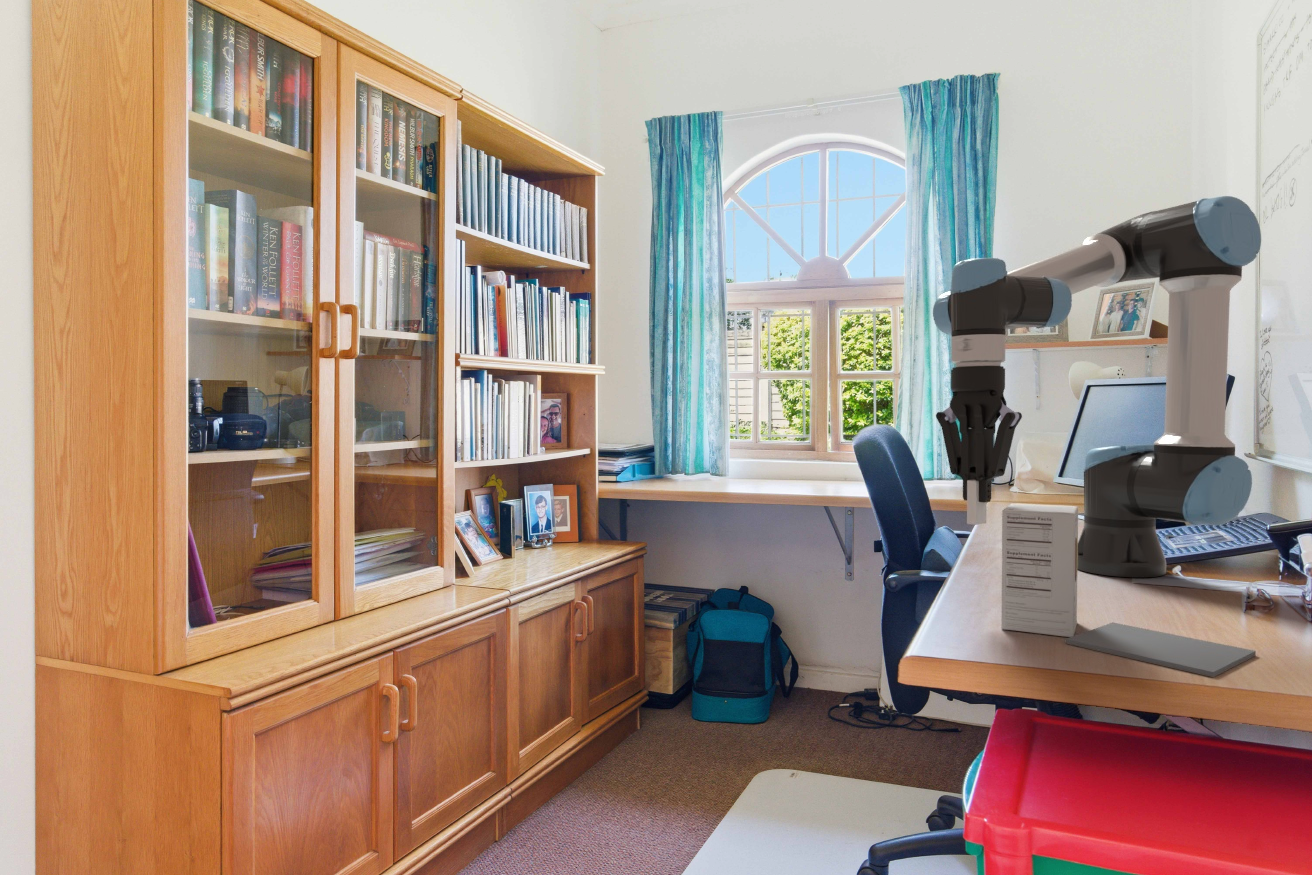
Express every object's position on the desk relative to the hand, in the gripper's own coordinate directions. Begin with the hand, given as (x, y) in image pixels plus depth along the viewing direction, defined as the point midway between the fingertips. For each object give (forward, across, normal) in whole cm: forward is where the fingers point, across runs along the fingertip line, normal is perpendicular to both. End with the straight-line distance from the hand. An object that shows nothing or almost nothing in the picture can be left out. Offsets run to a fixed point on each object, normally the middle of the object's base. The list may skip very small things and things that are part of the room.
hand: (976, 523), depth 125 cm
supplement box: (+14, +10, 0) cm, 17 cm away
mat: (+13, +25, +1) cm, 28 cm away
